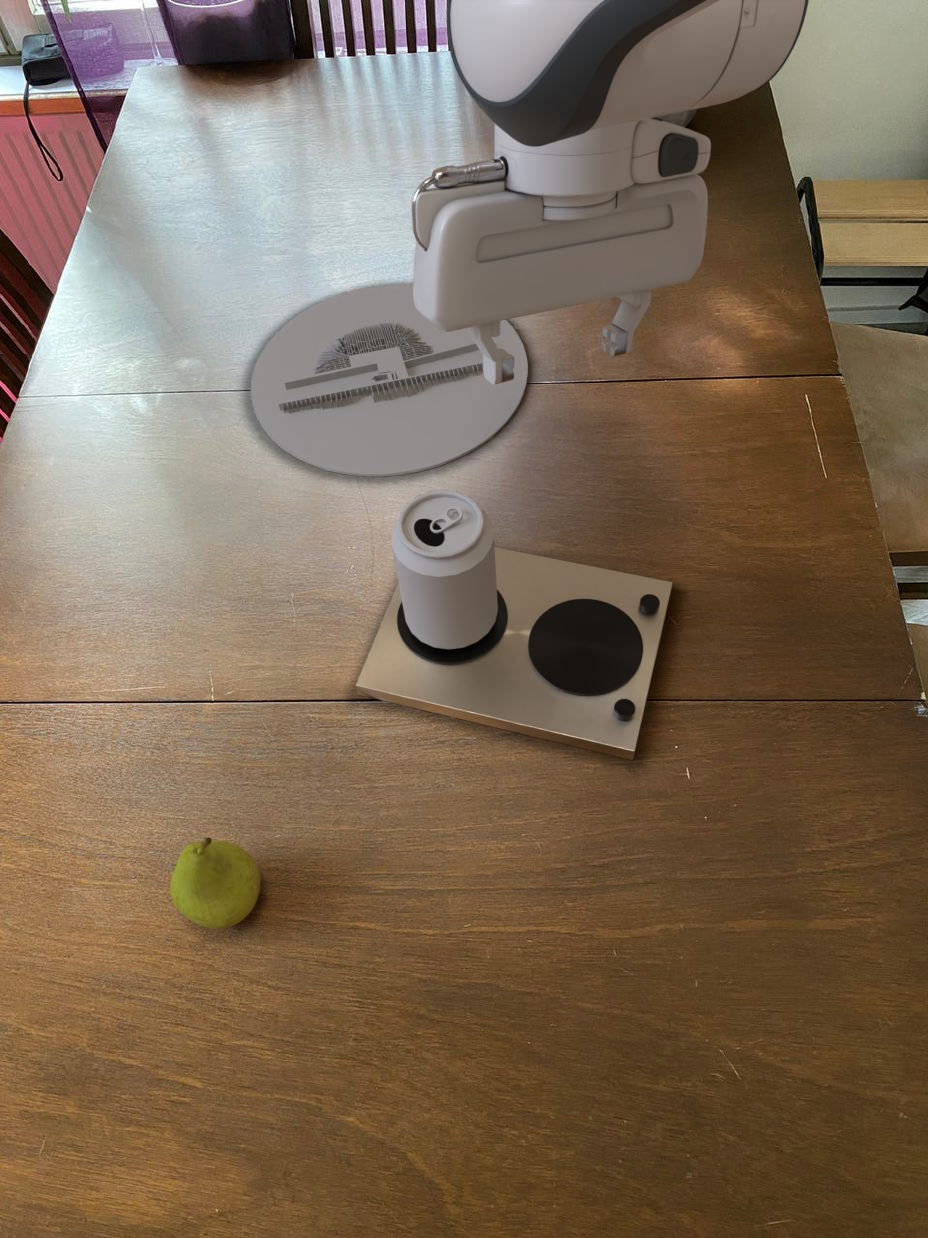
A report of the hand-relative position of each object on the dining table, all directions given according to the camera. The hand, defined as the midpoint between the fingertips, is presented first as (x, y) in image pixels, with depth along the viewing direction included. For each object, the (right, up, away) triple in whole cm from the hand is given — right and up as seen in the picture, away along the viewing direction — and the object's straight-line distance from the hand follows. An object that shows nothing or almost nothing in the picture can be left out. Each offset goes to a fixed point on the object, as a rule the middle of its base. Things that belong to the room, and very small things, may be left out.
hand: (558, 365), depth 67 cm
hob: (-2, -19, +12) cm, 23 cm away
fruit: (-23, -37, +1) cm, 44 cm away
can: (-8, -17, +11) cm, 22 cm away
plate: (-14, +7, +31) cm, 35 cm away
